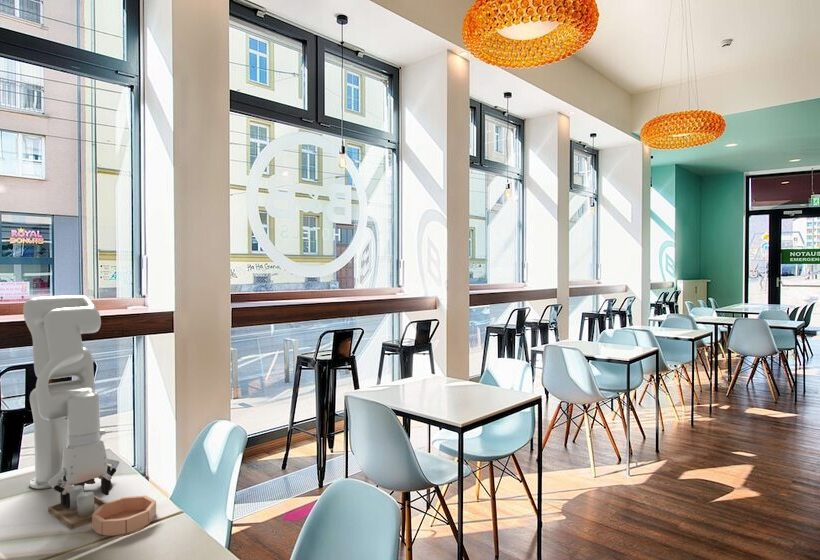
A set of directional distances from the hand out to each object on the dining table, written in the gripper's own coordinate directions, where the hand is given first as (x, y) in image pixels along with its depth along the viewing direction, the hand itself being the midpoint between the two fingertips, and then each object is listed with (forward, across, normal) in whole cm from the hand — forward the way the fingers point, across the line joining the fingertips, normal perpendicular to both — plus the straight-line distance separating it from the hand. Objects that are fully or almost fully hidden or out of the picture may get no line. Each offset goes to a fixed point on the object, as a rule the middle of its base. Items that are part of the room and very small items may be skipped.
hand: (86, 500), depth 140 cm
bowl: (+5, -5, +12) cm, 14 cm away
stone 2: (+4, 0, -1) cm, 4 cm away
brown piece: (+5, -9, -16) cm, 19 cm away
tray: (+5, 0, -3) cm, 6 cm away
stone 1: (+4, 0, -8) cm, 9 cm away
